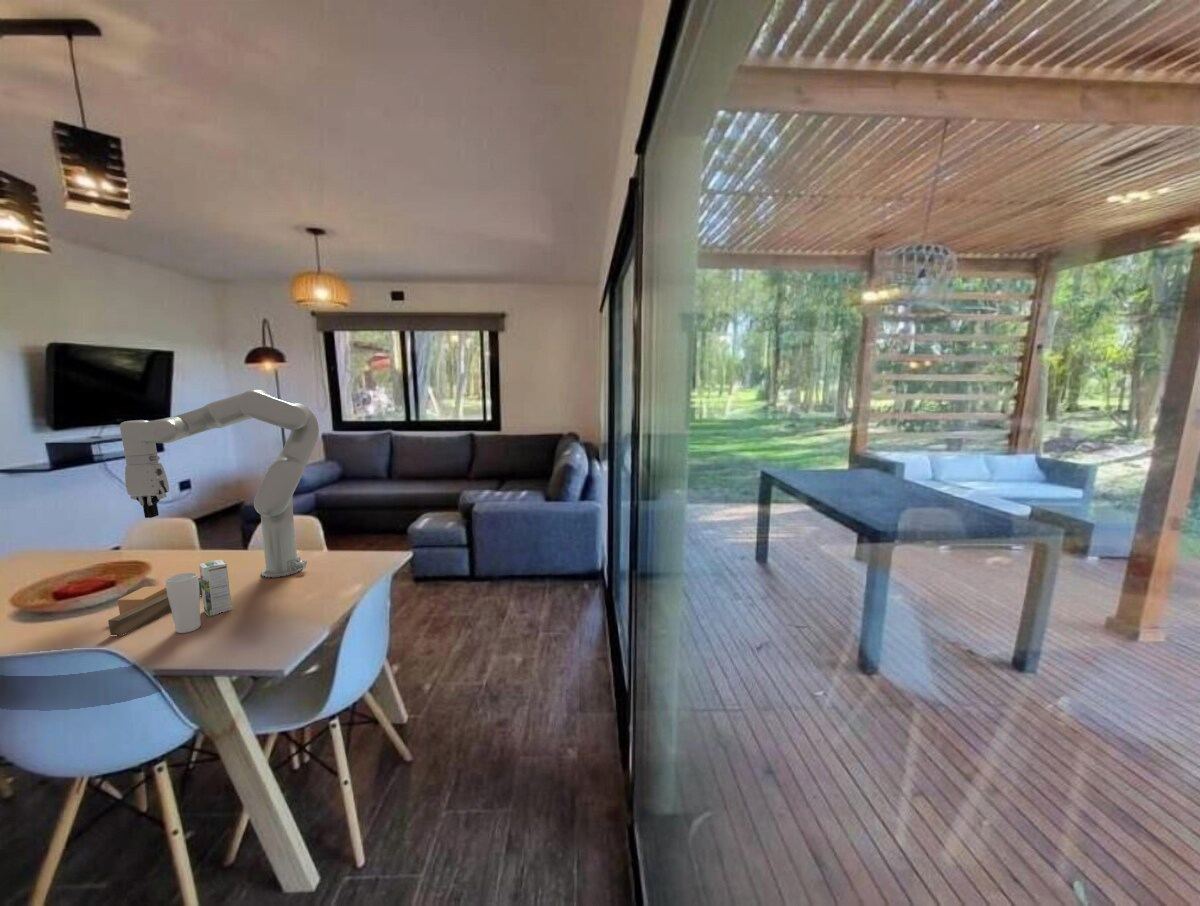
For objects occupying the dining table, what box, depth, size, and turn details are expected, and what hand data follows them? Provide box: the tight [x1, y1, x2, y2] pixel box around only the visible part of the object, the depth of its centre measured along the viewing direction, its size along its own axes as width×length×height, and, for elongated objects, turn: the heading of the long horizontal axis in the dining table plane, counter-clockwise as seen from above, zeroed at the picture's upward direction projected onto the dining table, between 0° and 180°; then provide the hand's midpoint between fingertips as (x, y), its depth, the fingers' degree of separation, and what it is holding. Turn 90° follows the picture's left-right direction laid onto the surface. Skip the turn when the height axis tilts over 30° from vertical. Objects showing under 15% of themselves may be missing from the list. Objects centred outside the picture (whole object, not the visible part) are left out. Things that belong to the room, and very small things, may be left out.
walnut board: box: [107, 577, 202, 637], centre depth 148 cm, size 3×28×4 cm, turn 175°
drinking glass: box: [165, 572, 202, 634], centre depth 137 cm, size 7×7×15 cm
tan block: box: [117, 585, 167, 615], centre depth 148 cm, size 7×9×6 cm
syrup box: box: [199, 559, 232, 617], centre depth 148 cm, size 6×6×14 cm
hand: (152, 516), depth 161 cm, fingers closed
